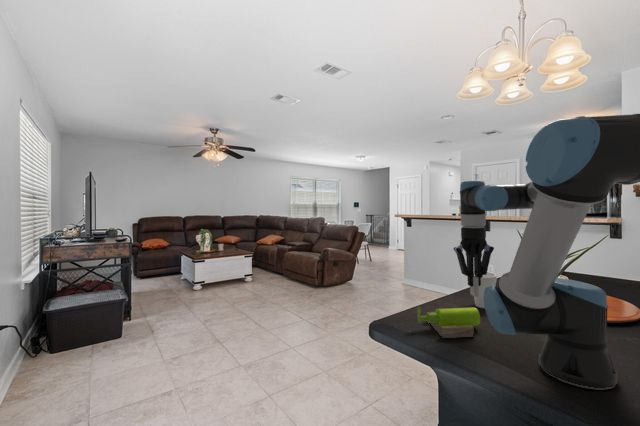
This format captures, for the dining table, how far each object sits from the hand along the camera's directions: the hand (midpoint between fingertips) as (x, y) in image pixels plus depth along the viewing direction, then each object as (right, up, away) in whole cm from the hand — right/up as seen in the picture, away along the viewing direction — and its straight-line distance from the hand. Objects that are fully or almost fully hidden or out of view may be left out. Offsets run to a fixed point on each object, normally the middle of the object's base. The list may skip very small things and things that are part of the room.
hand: (474, 295), depth 105 cm
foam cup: (+14, -10, +21) cm, 27 cm away
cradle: (-9, -12, +1) cm, 15 cm away
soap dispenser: (+1, -7, +1) cm, 7 cm away
